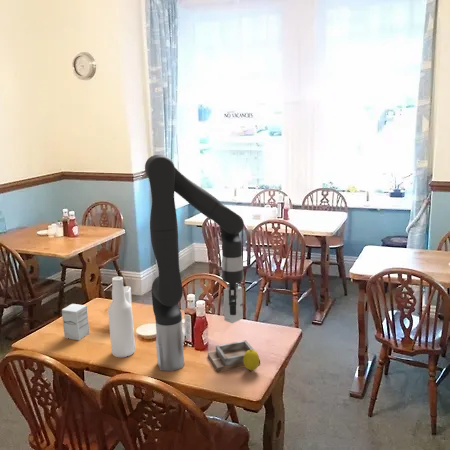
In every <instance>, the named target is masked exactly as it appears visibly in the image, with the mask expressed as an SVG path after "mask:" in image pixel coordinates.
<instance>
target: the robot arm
mask: <svg viewBox="0 0 450 450" xmlns="http://www.w3.org/2000/svg"><path fill="white" fill-rule="evenodd" d="M144 172H145V174H146V176H147V178H148V180H149V185H150V187H149V188H150V192H151V209H150V217H149V230H150V231H149V233H150V242H151V247H152V252H153V254H154V259H155V261H156V265H157V270H158V276H157V277H155V279H154V280H153V282H152V284H151V303H152V310H153V311H152V312H153V315H154V318H155V329H156V330H155V332H156V333H155V334H156V339H155V346H156V348H155V350H156V361H157V362H156V363H157V365H158V367H159V370H160V371H168V372H169V371H177V370H179V369H181V368H183V367H184V365H185V355H184V354H185V353H184V351H185V349H184V336H183V334H184V332H183V320H182V319H183V317H182V315H183V314H182V311H181V308H180V306H179V303H180V301H181V300H182V298H183V293H184V290H183V289H184V288H183V283H182V276H181V271H180V251H179V250H180V249H179V248H180V247H179V232H178V231H179V229H178V219H177V210H176V204H175V203H176V202H175V194H177V195H179V196H180V197H181V198H182V199H183V200H184V201H186V203H189V205H190V206H192V207H193V208H195V209H196V210H197V211H198V212H200V213H201V214H202V215H203V216H205V217H207V218H208V219H210V220H211V221H213V222H214V223H216V224H217V226H219V231H220V236H221V242H222V243H221V244H222V246H221V250H222V251H221V253H222V254H221V255H222V258H221V275H222V276H221V278H222V279H221V280H222V281H223V282H225V283H227V286H226V288H227V290H228V299H229V306H230V315H236V305H237V303H236V299H237V298H238V286H239V283H240V282H242V281H243V280H244V260H243V243H242V240H241V238H240V233H241V232H242V231H243V230H244V227H245V223H244V220H243V217H242V216H240V215H239V214H237V213H236V212H235V211H233V210H232V209H230V208H229V207H227V206H225V205H224V204H223V203H222V202H221V201H220V200H219V199H218V198H216V197H215V196H214V195H212V194H211V193H209V191H207V190H205V189H204V188H202V186H199V185H198V184H196V183H194V182H193V181H191V179H189V178H188V177H186V176H185V175H184V174H182V173H181V171H179V170H178V169H177V168H176V167H175V164H174V162H173V161H172V160H171V158H169V157H167V156H166V155H163V154H153V155H151V156H150V157H149V158H147V160H146V161H145V163H144ZM231 300H235V302H231Z"/></svg>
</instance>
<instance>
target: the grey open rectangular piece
mask: <svg viewBox="0 0 450 450" xmlns="http://www.w3.org/2000/svg"><path fill="white" fill-rule="evenodd" d="M250 349H252V350H254V351H256V350H255V349H254V348H253V347H252V345H251V344H250V343H249V341H247V340H239V341H234V342H228V343H224V344H218V345H215V350H214V351H210V352H209V351H208V352H207V357H208V359H209V361H210V362H211V364H212V365H213V367H214V369H215V370H216V372H217V373H219V372H224V371H230V370H234V369H239V368H246V367H245V366H244V362H243V358H244V354H245V353H246V352H247V351H248V350H250ZM260 364H261V359H260V358H259V365H260Z"/></svg>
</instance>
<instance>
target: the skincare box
mask: <svg viewBox="0 0 450 450" xmlns="http://www.w3.org/2000/svg"><path fill="white" fill-rule="evenodd" d="M231 302H235V300H231ZM236 303H237V305H236V315H230V306H229V299H228V290H227V287H226V288H224V289H223V314H224V316H223V319H224V321H225V322H228V323H229V324H230V323H231V324H234V323H237V322H238V321H240V320H243V318H244V315H243V314H244V310H243V307H244V302H243V287H242V286H239V285H238V298H237V299H236Z"/></svg>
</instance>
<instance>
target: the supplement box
mask: <svg viewBox="0 0 450 450" xmlns="http://www.w3.org/2000/svg"><path fill="white" fill-rule="evenodd" d="M61 316H62V317H61V318H62V323H63V326H62V327H63V333H64V339H68V338H69V339H68V340H73V341H74V340H76V341H81V340H82V339H84V338H85V337H87V336H88V335H90V326H89V325H90V324H89V313H88V306H87V305H85V304H78V303H77V304H76V303H71V304H69V305H68V306H66V307H64V308H62V309H61ZM87 334H88V335H87ZM84 336H85V337H84ZM83 337H84V338H83ZM81 338H82V339H81ZM80 339H81V340H80Z"/></svg>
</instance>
